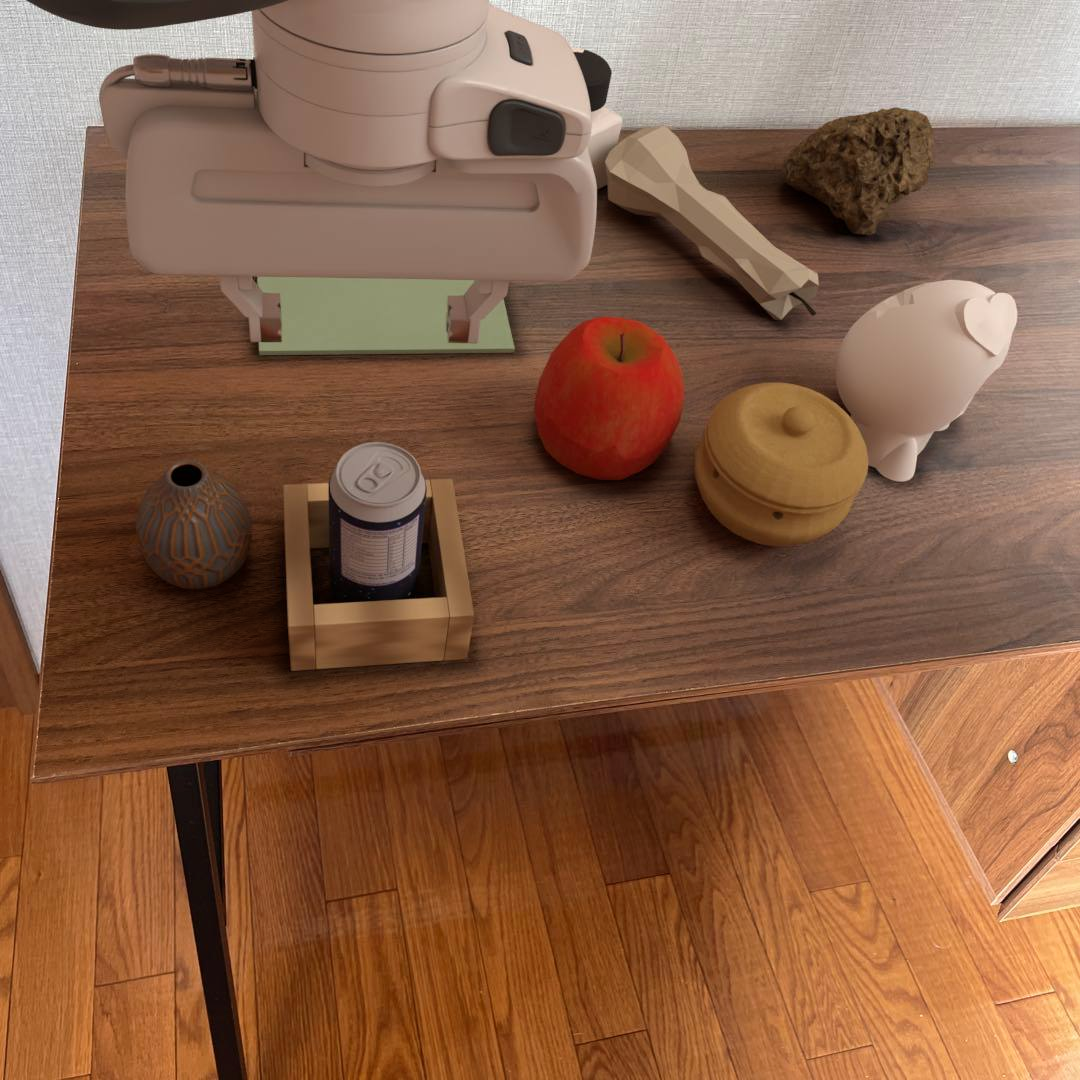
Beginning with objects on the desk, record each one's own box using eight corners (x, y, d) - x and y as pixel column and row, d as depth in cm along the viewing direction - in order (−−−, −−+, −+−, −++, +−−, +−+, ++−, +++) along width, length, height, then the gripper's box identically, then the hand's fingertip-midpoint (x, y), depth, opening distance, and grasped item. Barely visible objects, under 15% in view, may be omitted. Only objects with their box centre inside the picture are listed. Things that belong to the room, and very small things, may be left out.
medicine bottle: (610, 185, 106) (636, 66, 97) (560, 211, 102) (582, 90, 93) (555, 149, 108) (576, 30, 99) (505, 174, 105) (521, 52, 95)
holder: (290, 671, 68) (288, 626, 64) (285, 532, 75) (282, 484, 71) (466, 659, 71) (474, 615, 67) (446, 525, 77) (452, 478, 73)
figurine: (790, 428, 88) (857, 278, 77) (847, 358, 95) (918, 209, 83) (916, 499, 85) (1006, 354, 74) (966, 421, 92) (1057, 276, 80)
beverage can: (434, 588, 74) (447, 468, 64) (381, 644, 70) (388, 526, 61) (366, 546, 75) (369, 422, 66) (311, 600, 72) (307, 477, 63)
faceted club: (648, 162, 108) (840, 316, 99) (582, 207, 105) (773, 369, 96) (653, 89, 100) (863, 249, 91) (582, 136, 97) (790, 305, 88)
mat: (259, 355, 85) (258, 350, 85) (255, 199, 97) (255, 194, 97) (514, 353, 89) (514, 348, 89) (480, 203, 101) (481, 198, 101)
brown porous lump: (778, 179, 112) (913, 93, 109) (843, 283, 109) (985, 198, 106) (763, 127, 102) (912, 30, 98) (836, 241, 98) (993, 144, 95)
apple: (673, 409, 88) (708, 304, 80) (660, 510, 81) (696, 406, 73) (541, 379, 88) (562, 271, 80) (516, 477, 81) (536, 370, 73)
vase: (255, 603, 71) (246, 516, 64) (142, 609, 70) (121, 521, 63) (254, 520, 75) (246, 430, 68) (147, 524, 74) (128, 433, 67)
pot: (675, 549, 79) (711, 454, 71) (688, 435, 86) (723, 337, 78) (835, 585, 79) (889, 494, 71) (835, 467, 86) (884, 373, 79)
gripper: (81, 98, 40) (137, 379, 50) (631, 123, 44) (575, 379, 54) (98, 10, 43) (147, 289, 54) (603, 41, 47) (556, 295, 58)
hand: (365, 334), depth 54 cm, fingers open, 8 cm apart
